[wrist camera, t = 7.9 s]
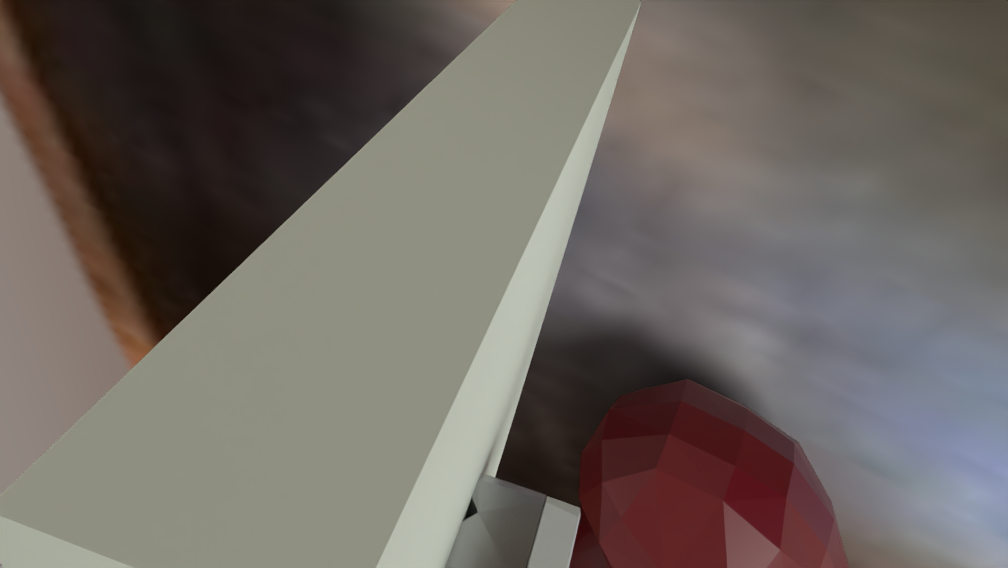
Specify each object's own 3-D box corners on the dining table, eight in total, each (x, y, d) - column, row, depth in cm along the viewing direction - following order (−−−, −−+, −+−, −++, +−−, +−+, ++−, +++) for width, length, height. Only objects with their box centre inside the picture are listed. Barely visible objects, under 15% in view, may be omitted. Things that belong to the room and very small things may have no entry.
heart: (943, 424, 24) (642, 304, 26) (960, 643, 18) (568, 464, 20) (787, 620, 31) (563, 514, 33) (762, 822, 25) (491, 677, 27)
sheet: (544, -27, 12) (-15, 511, 3) (641, 1, 12) (338, 647, 3) (431, 465, 19) (157, 1064, 10) (491, 487, 19) (267, 1113, 10)
